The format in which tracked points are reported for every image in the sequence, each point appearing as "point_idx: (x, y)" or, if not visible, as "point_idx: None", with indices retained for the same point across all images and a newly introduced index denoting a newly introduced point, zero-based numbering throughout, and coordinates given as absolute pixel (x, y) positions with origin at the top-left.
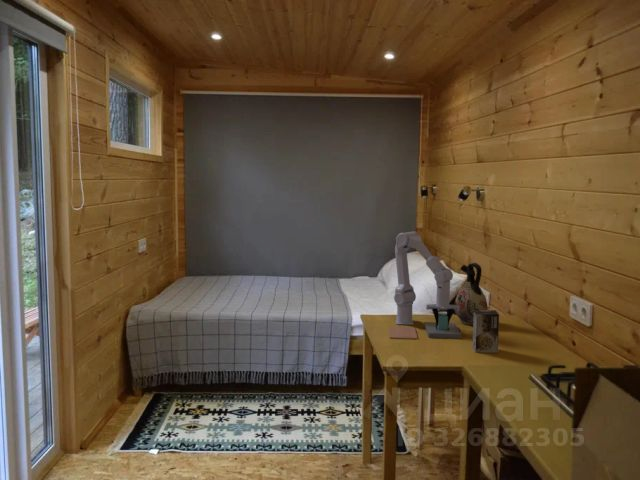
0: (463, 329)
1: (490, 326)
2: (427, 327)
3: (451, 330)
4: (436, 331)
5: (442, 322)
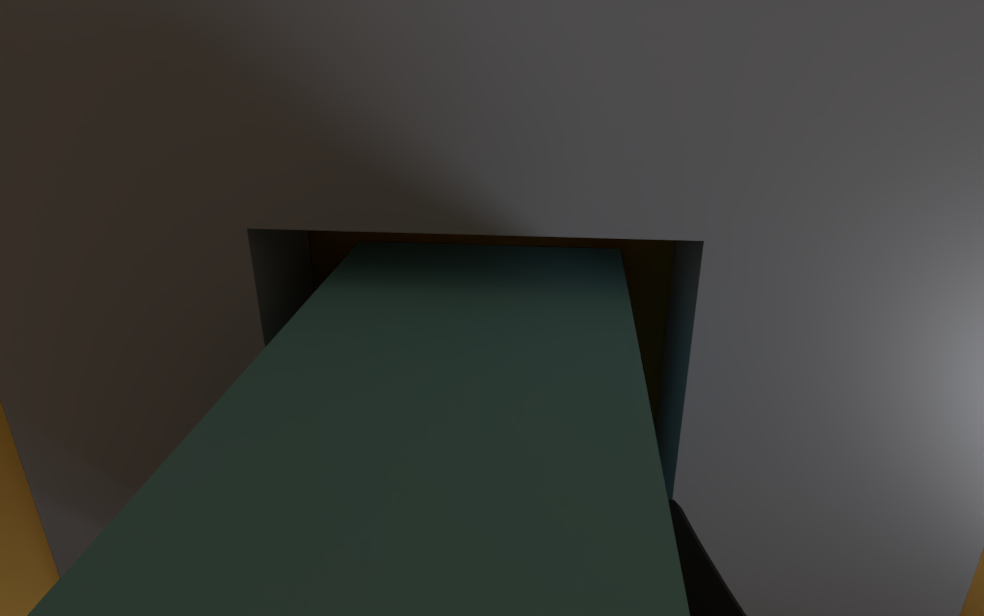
0: (8, 595)
1: None
2: (963, 507)
3: (185, 220)
4: (777, 25)
5: (455, 447)
